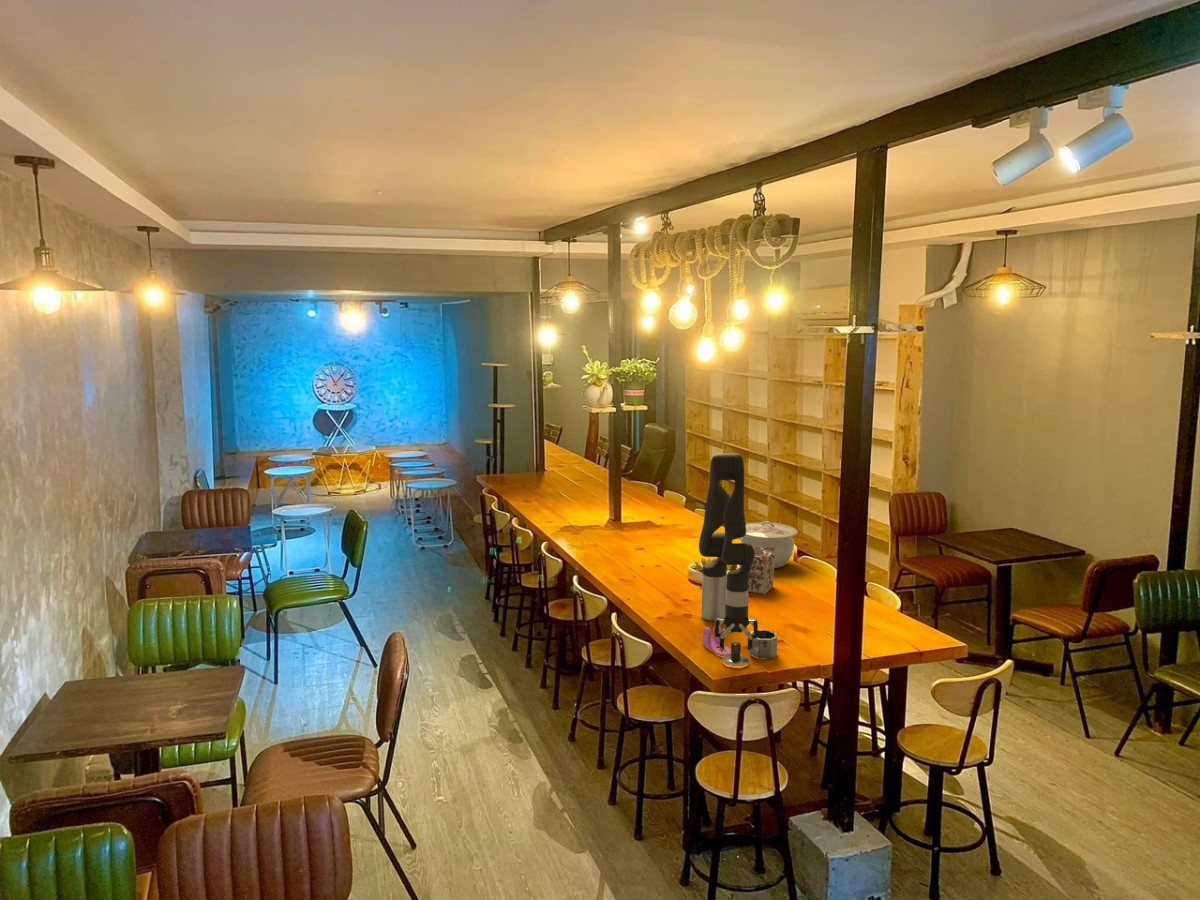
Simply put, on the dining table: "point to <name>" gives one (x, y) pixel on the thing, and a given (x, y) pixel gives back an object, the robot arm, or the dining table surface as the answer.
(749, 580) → the decorative jar
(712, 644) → the bracket
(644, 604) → the dining table surface
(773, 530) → the chamber pot
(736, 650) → the lid
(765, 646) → the pot
